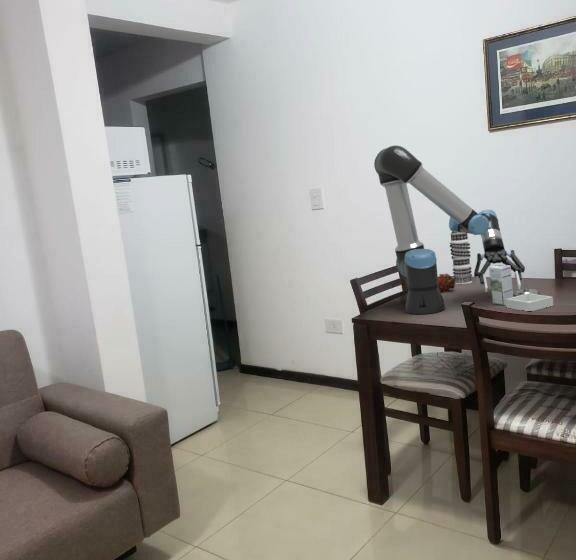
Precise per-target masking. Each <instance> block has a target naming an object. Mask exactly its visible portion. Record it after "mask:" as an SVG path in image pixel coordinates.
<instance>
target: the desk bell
mask: <svg viewBox="0 0 576 560" xmlns="http://www.w3.org/2000/svg"><path fill="white" fill-rule="evenodd" d="M528 293H529V294H536V295H541V292H539V291H538V289H534V288H522V289H517V290H515V291H514V293H513V297H516V296H520V295H524V294H528Z"/></svg>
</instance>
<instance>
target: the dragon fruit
mask: <svg viewBox="0 0 576 560" xmlns="http://www.w3.org/2000/svg"><path fill="white" fill-rule="evenodd" d="M455 285H457V284H456V283H455V281H454V278H453V276H451V275H450V274H448V273H444V274H443V273H442V274H441V273H440V274H439V275H438V286H439V291H440V293H442V292H443V291H445V292H450V290H452V289H454V288H455V287H456V286H455Z"/></svg>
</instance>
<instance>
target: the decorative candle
mask: <svg viewBox="0 0 576 560" xmlns="http://www.w3.org/2000/svg"><path fill="white" fill-rule="evenodd" d="M449 248H450V250H449V251H450V255H451V260H452V262H453V264H452V267H453V268H452V271H453V272H452V274H453V276H452V277H453V278H454V281H455V283H456V284H455V285H458V284H462V285H469V284H472V283H473V274H472V267H471V262H470V258H471V257H472V255H471V251H469V250H470V249H471V243H470V242H469V236H468V233H464V232H454V231H451V233H450V242H449Z"/></svg>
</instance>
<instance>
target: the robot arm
mask: <svg viewBox="0 0 576 560" xmlns="http://www.w3.org/2000/svg"><path fill="white" fill-rule="evenodd" d="M373 164H374V166H373V167H374V170H375V172H376V174H377V175H378V179H379V184H380V186H382V187H383V188H384V189H385V193H386V198H387V202H388V203H387V204H388V207H389V212H390V216H391V220H392V224H393V230H394V234H395V239H396V243H397V246H396V247H395V248H394V251H395V255H396V260H395V265H396V269H397V271H398V272H399V274H401V275H402V276H403V277H404V278H406V281H407V282H406V283H407V296H406V302H405V306H404V307H405V312H406V313H408V314H411V313H412V314H413V315H428V314H434V313H439V312H442V311H444V310H446V302H445V300H444V298H443V295H442V292H440V291H439V286H438V276H439V275H438V266H437V261H438V260H437V256H436V252H435V251H434V250H432V249H430V248H425V246H424V245H425V244H424V242H422V241H421V240H419V235H418V232H417V226H416V223H415V217H414V213H413V208H412V207H413V206H412V204H411V199H410V194H409V189H408V185H407V184H409V185H411V186H412V188H414V189H416V191H418V192H419V193H421V194H422V195H423V196H424V197H425V198H427V200H429V201H430V202H432V203H433V204H434V205H435V206H436V207H438V208H439V209H440V210H441V211H442V212H444V213H445V214H447V216H449V219H448V220H449V222H448V228H449V230H450V231H451V232H452V231H454V232H464V233H467V234H469V235H470V234H471V235H474V236H477V235H478V236H479V235H480V237H481V241H482V246H483V247H482V248H483V251H484V252H483V253H484V254H483V253H482V254H481V253H480V252H479V253H477V255H476V259H477V260H476V264H475V267H474V272H473V277H474V278H477V277H478V279H479V283H480V284H481V285H483V287H484V293H488V289H489V287H488V281H487V277H486V272H487V270H489V267H491V264H492V265H493V264H502V265H510V266H511V271H512V272H514V277H515V282H516V286H517V290H521V286H522V284H521V281H522V279H523V275H522V273H525V270H526V267H525V265H524V264H523V263H522V261H521V260H520V258H519V257H518V256H517V255H516V253H515V250H513V249H511V250H510V251H507V250H506V249H505V244H504V242H503V236H502V233H501V229H500V225H499V219H498V217H497V214H496V212H495V211H494V210H492V209H483V210H481V211H480V212H477V211H476V210H475V209H473V208H472V207H471V206H470V205H469V204H467V203H466V202H465V201H464V200H462V199H461V198H460V197H459V196H458V195H456V193H454V192H453V191H451V189H449V188H448V187H447V186H446V185H445V184H443V183H442V182H441V181H439V180H438V178H436V177H435V176H434V175H432V174H431V173H430V172H429V171H428V170H427V169H425V168H424V167H423V162H421V161H420V160H419V159H418V158H417V157H416V156H414V155H413V154H412V153H411V152H410V151H408V149H406V148H405V147H404V146H401V145H390V146H389V147H386V148H383V149H381V150H380V151H379V152H378V153H377V154H376V156H375V158H374V163H373ZM507 256H508V257H509V258H510V259H511V260H510V259H508V257H507ZM483 259H485V260H486V261H485V263H484V264H483V266H482V267H481V262H482V261H483ZM480 267H481V269H480ZM412 314H411V315H412Z"/></svg>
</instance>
